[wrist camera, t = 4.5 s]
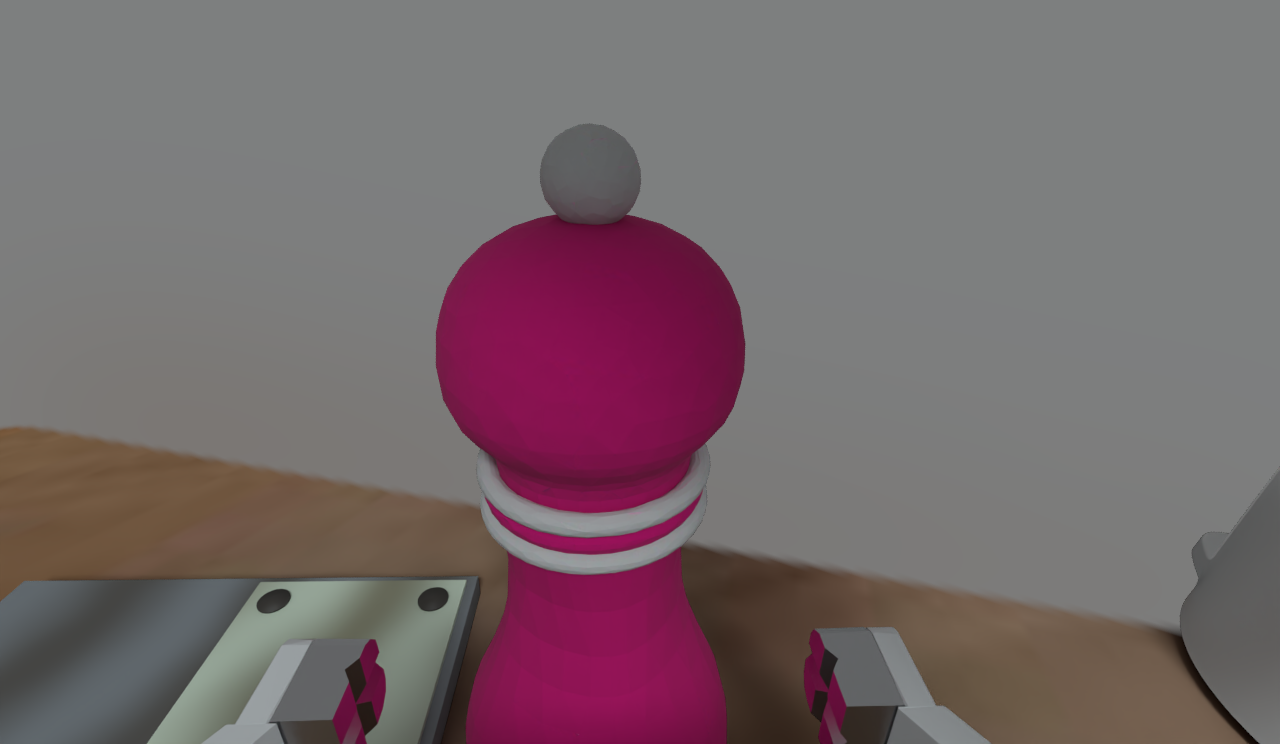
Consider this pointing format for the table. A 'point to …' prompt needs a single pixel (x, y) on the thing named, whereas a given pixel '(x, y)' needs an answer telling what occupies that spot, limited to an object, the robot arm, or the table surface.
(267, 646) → the tile board
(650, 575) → the pepper mill
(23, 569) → the table surface
